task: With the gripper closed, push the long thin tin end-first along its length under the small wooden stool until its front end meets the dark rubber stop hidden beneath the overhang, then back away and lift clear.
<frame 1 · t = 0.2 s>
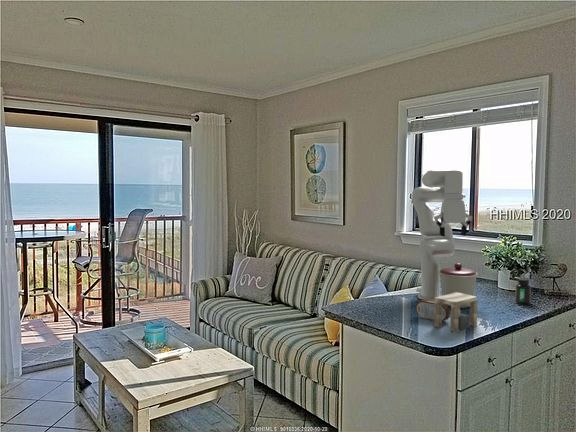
hand: (453, 235, 201), 37 cm above the worktop, tool pointing down, fingers open, 9 cm apart
canister: (457, 305, 222), on the worktop
tin: (432, 320, 200), on the worktop
small wooden stool: (455, 326, 190), on the worktop
supplement bottle: (522, 303, 224), on the worktop
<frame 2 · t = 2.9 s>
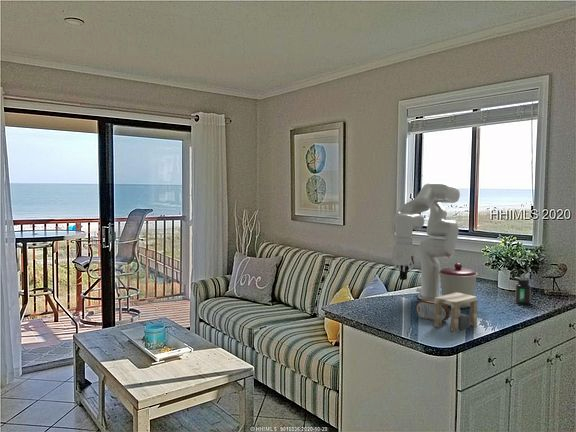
hand: (403, 279, 211), 15 cm above the worktop, tool pointing down, fingers closed
nothing on the worktop moved.
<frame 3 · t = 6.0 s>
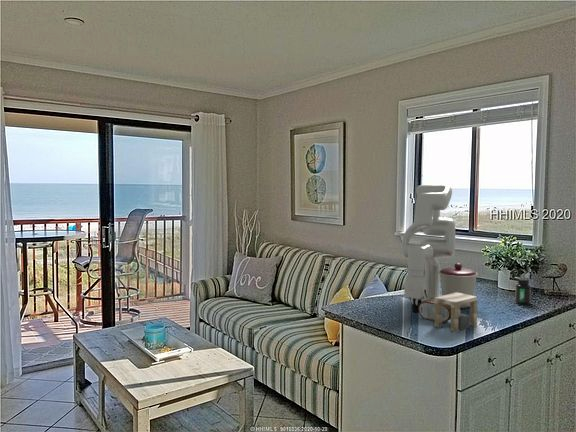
hand: (416, 312, 207), 1 cm above the worktop, tool pointing down, fingers closed
tin: (434, 320, 198), on the worktop, touching gripper
everything else where it was.
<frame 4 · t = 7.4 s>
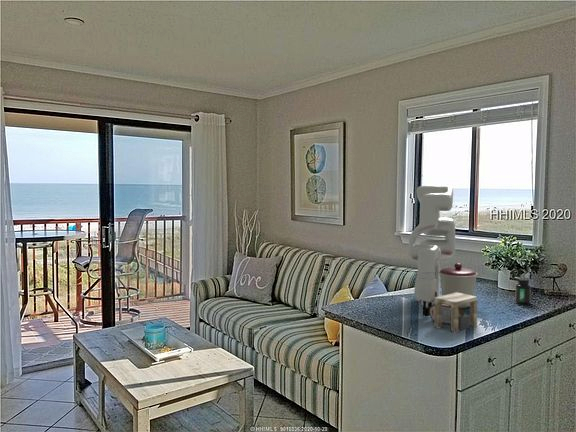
hand: (426, 315, 202), 1 cm above the worktop, tool pointing down, fingers closed
tin: (446, 323, 194), on the worktop, touching small wooden stool, gripper
everything else where it was.
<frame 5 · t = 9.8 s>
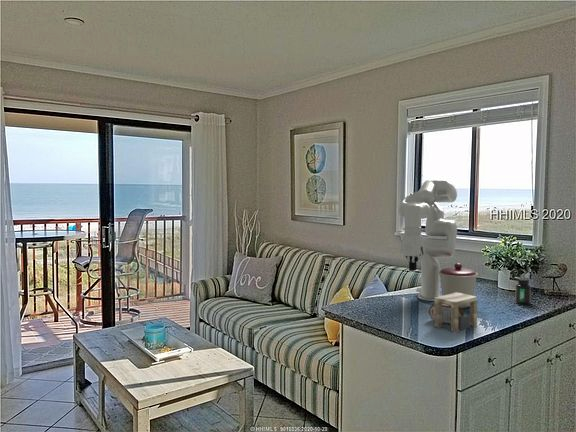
hand: (412, 270, 208), 20 cm above the worktop, tool pointing down, fingers closed
tin: (446, 323, 194), on the worktop, touching small wooden stool
everything else where it was.
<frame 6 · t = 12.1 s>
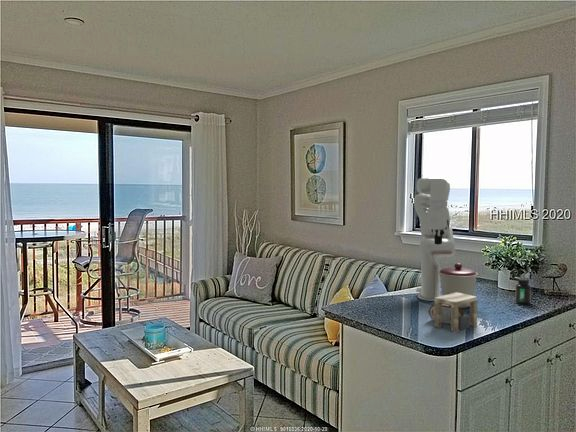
hand: (438, 244, 209), 32 cm above the worktop, tool pointing down, fingers closed
tin: (446, 323, 194), on the worktop
everything else where it was.
at the end: tin 0.5 cm from the target spot on the small wooden stool, point 0.0 cm above the small wooden stool's base; tin tilted 0° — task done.
